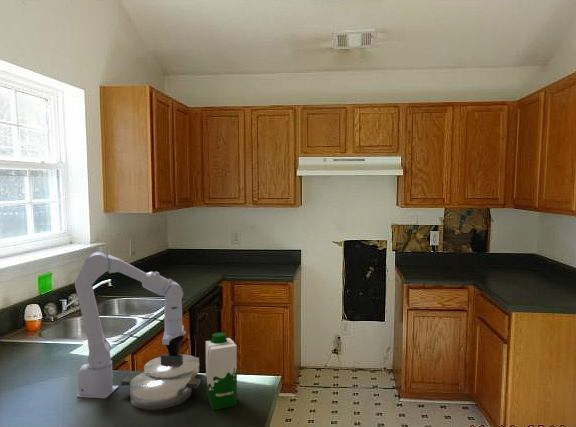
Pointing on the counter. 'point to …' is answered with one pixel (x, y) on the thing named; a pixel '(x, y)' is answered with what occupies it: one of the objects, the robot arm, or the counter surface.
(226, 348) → the milk carton
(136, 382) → the cooker pot
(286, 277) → the counter surface
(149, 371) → the cooker lid
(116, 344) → the counter surface
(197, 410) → the counter surface
